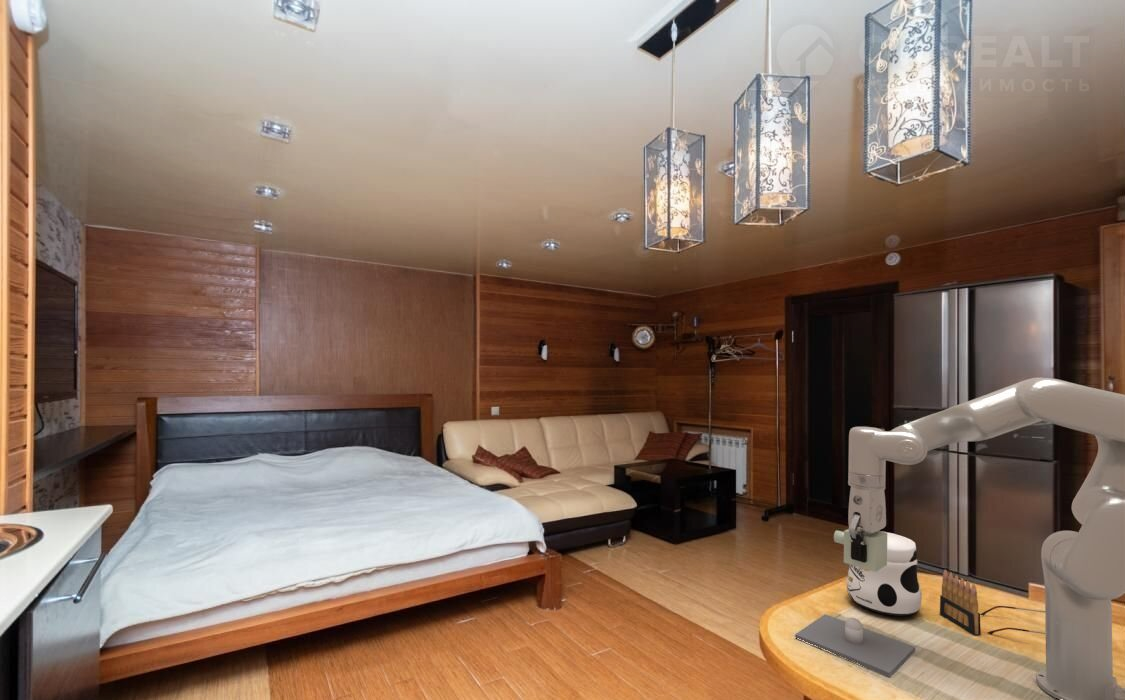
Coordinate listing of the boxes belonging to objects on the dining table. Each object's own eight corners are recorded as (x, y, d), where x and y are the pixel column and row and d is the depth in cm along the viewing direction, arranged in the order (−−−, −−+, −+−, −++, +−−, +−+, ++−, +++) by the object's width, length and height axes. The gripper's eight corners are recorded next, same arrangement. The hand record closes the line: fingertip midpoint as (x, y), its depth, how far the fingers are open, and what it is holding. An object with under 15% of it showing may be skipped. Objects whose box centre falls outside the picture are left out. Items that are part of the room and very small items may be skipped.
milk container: (832, 597, 147) (831, 532, 147) (876, 588, 153) (876, 526, 154) (890, 627, 131) (889, 553, 131) (937, 615, 137) (937, 545, 137)
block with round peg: (887, 565, 122) (887, 533, 123) (875, 572, 118) (875, 538, 118) (842, 552, 130) (842, 522, 130) (829, 558, 126) (830, 527, 126)
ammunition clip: (981, 635, 127) (980, 585, 127) (973, 635, 127) (973, 585, 127) (946, 614, 138) (945, 568, 138) (939, 614, 138) (939, 568, 138)
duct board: (915, 651, 120) (915, 624, 120) (889, 677, 109) (889, 648, 110) (825, 617, 135) (825, 594, 135) (795, 638, 125) (795, 612, 125)
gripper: (868, 488, 115) (867, 571, 114) (898, 478, 126) (897, 553, 125) (833, 482, 121) (832, 560, 120) (864, 473, 132) (863, 544, 131)
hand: (865, 556), depth 123 cm, fingers closed on block with round peg, 6 cm apart
